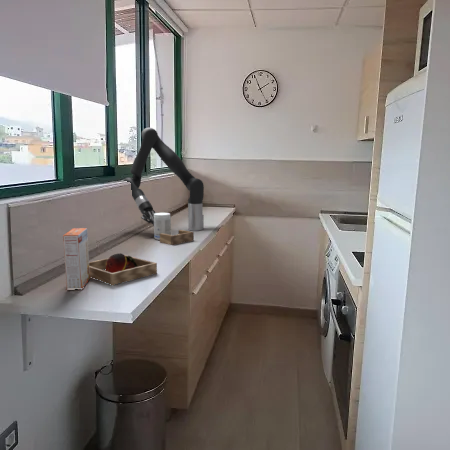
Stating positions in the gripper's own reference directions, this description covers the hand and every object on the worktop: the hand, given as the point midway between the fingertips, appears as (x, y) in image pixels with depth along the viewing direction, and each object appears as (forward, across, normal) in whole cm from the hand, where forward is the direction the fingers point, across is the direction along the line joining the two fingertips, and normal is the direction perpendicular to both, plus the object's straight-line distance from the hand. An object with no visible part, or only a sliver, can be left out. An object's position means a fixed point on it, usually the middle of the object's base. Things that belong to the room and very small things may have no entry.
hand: (157, 227), depth 254 cm
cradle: (+15, 0, -7) cm, 17 cm away
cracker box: (+39, -79, -30) cm, 93 cm away
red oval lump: (+37, -58, -28) cm, 75 cm away
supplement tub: (+8, 0, +1) cm, 8 cm away
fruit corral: (+38, -60, -29) cm, 77 cm away
